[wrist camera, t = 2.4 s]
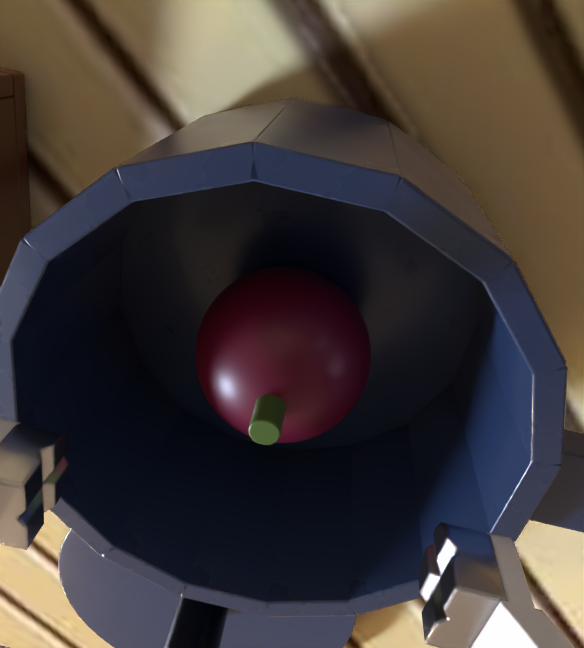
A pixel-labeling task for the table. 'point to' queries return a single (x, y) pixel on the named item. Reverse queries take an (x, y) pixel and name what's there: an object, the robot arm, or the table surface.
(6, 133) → the tray
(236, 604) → the pot
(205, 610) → the lid
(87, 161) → the table surface
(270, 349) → the beet
